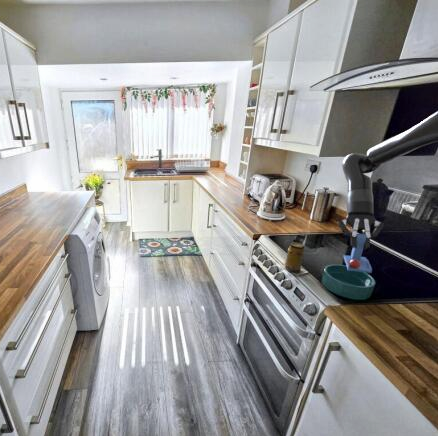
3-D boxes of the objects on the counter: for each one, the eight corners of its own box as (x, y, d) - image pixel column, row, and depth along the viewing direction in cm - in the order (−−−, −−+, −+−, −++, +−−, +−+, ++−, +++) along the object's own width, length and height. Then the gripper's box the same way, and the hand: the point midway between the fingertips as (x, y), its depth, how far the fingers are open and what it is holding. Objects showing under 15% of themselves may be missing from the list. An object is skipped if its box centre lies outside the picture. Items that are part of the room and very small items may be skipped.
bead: (362, 261, 87) (360, 261, 85) (360, 269, 87) (358, 269, 85) (351, 258, 89) (349, 258, 87) (349, 266, 89) (346, 266, 87)
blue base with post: (343, 256, 94) (349, 232, 89) (365, 258, 91) (372, 234, 86) (347, 270, 88) (353, 245, 83) (371, 273, 85) (379, 248, 80)
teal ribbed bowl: (363, 281, 97) (367, 269, 95) (376, 305, 85) (381, 291, 82) (318, 273, 104) (321, 261, 102) (324, 294, 91) (328, 281, 89)
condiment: (291, 263, 112) (296, 240, 108) (308, 272, 105) (314, 248, 100) (279, 266, 110) (284, 243, 106) (296, 276, 102) (301, 251, 98)
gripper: (339, 199, 90) (338, 244, 87) (388, 200, 84) (390, 248, 80) (334, 205, 97) (334, 247, 93) (380, 206, 90) (381, 251, 87)
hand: (360, 247), depth 87 cm, fingers closed on blue base with post, 2 cm apart
